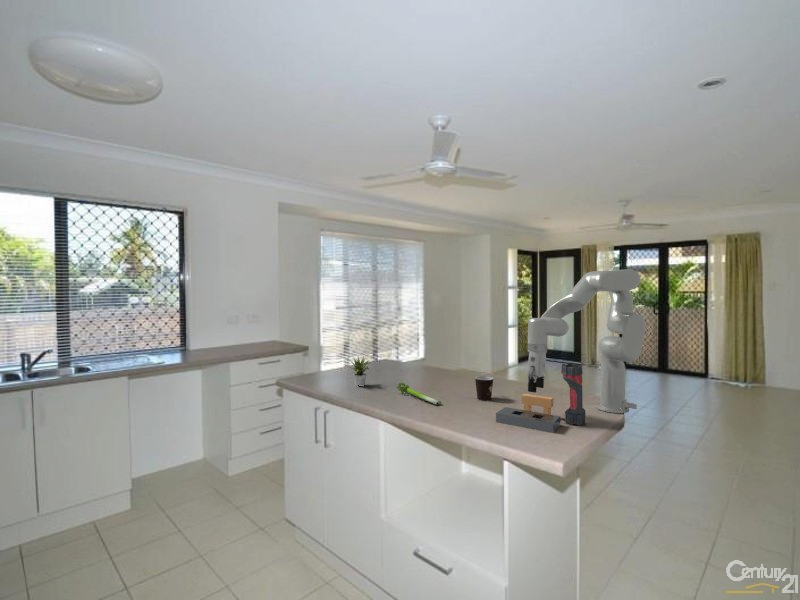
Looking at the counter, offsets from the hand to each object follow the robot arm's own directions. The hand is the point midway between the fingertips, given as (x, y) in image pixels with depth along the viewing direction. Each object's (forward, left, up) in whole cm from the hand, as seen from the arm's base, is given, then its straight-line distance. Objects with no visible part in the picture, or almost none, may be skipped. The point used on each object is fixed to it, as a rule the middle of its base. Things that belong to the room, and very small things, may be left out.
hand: (535, 389), depth 172 cm
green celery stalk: (+55, +4, -12) cm, 56 cm away
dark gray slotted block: (0, +11, -11) cm, 16 cm away
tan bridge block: (0, 0, -11) cm, 11 cm away
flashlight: (-15, +1, -11) cm, 18 cm away
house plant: (+94, +1, -11) cm, 94 cm away
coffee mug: (+28, -14, -11) cm, 33 cm away
